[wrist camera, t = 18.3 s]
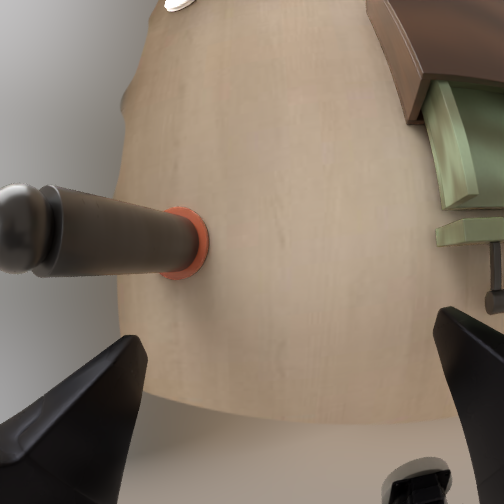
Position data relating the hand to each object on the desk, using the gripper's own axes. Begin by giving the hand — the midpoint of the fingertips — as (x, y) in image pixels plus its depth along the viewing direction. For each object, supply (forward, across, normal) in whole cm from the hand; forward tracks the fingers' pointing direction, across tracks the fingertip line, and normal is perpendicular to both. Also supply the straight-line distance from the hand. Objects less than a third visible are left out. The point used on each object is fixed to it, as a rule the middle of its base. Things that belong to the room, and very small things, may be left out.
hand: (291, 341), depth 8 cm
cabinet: (+16, -17, -12) cm, 26 cm away
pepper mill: (+15, +8, +3) cm, 17 cm away
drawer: (+10, -16, -1) cm, 19 cm away
